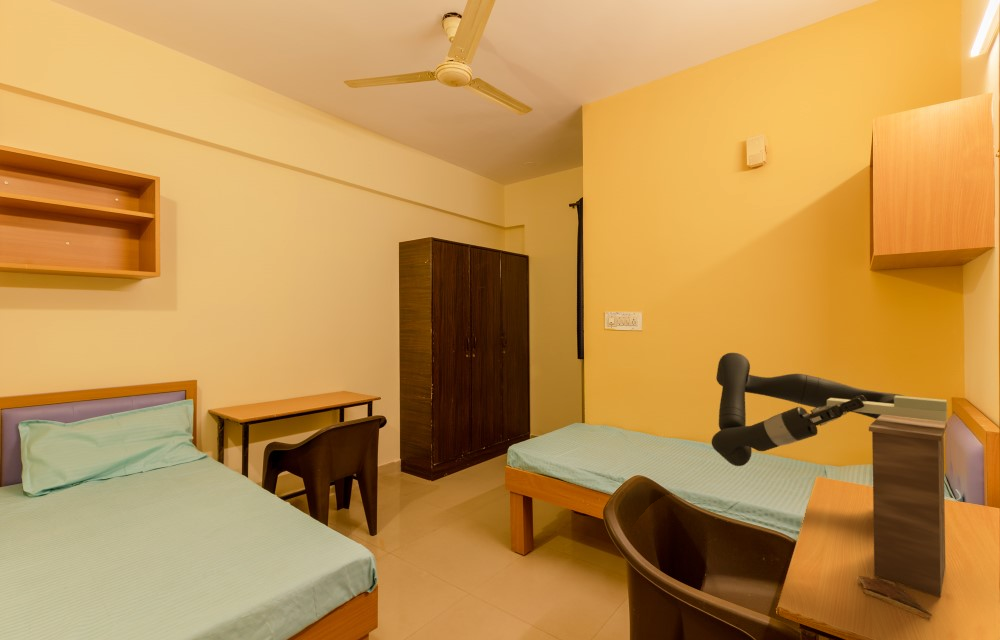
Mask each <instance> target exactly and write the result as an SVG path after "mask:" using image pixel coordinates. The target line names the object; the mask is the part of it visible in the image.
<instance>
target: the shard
mask: <svg viewBox="0 0 1000 640" xmlns="http://www.w3.org/2000/svg"><path fill="white" fill-rule="evenodd" d="M857 580H858V581H860V583H862V585H863V589H862V590H863V591H862V592H863V594H865V595H868V596H871V597H873V598H876V599H880V600H882V601H884V602H886V603H889V604H890V605H893V606H895V607H897V608H899V609H902V610H905V611H907V612H909V613H912V614H914V615H917V616H921V617H922V616H923V617H922V618H925V617H926V619H928V618H930V619H931V617H933V614H932V613H930V612H929V610H927V609H926V608H925V607H923V606H922V605H921V604H920V603H919V602H918V601H917V600H916V599H915V598H914V597H913V596H912V595H911V594H909V592H907V591H906V590H905V589H904V588H903V587H901V586H900V585H899V584H898V583H895V582H892V581H889V580H886V579H883V578H880V577H870V576H863V575H862V576H861V575H859V576H857Z"/></svg>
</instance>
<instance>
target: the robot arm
mask: <svg viewBox="0 0 1000 640" xmlns="http://www.w3.org/2000/svg"><path fill="white" fill-rule="evenodd" d="M750 369H751V363H750V360H748V358H747V357H746V356H745V355H743V354H741V353H738V352H727V353H725V354H723V355H722V356H721V357H720V359H719V361H718V364H717V369H716V370H717V372H716V377H715V378H716V379H715V380H716V381H717V383H718V385H719V386H721V387H722V388H721V389H722V391H721V394H720V395H721V396H720V402H719V410H718V411H719V412H718V427H719V430H718V431H717V432H716V433H715V434H714V435H713V436H712V439H711V446H712V448H713V449H714V450H715V452H717V454H719V455H720V456H721V457H722V458H724V460H726V461H727V462H728V463H730V465H732V466H735V467H742V466H745V465H746V464H747V463H748V462H749V461H750V459H751V457H752V451H753V450H752V449H754V450H755V451H758V452H766V451H769V450H772V449H775V448H778V447H783V446H786V445H790V444H794V443H797V442H800V441H803V440H805V439H810V438H811V437H814V436H817V435H818V427H817V426H825V425H827V424H828V423H829V422H833V421H836V420H838V419H839V418H841V417H843V416H846V414H847V413H854V414H858V415H862V416H866V417H869V418H873V419H875V420H876V419H877V418H878V417H879V416H880V415H881V414H873V413H864V412H855V411H854V410H856V409H859V408H862V407H864V403H863V402H862V401H869V402H879V403H889V404H894V397H895V396H904V395H903V394H899V393H892V392H891V393H890V392H882V391H876V390H870V389H869V390H868V389H864V388H863V389H861V388H857V387H853V386H850V385H847V384H844V383H841V382H837V381H833V380H831V379H825V378H821V377H818V376H814V375H813V376H812V375H809V374H805V373H804V374H803V373H790V374H782V375H777V376H772V377H769V376H768V377H765V376H758V375H753V374H750ZM746 393H748V394H755V395H760V396H765V397H771V398H774V399H780V400H783V401H784V400H785V401H788V402H792V403H795V404H799V405H803V406H807V407H809V408H810V407H811V408H813V409H811V410H810V412H811V413H809V412H808V411H807V410H806V409H805V408H803V407H802V406H796V407H793V408H791V409H789V410H785V411H783V412H780V413H777V414H775V415H773V416H770V417H769V418H768V419H765V420H763V421H759V422H757V423H754V424H753V425H747V424H746V422H747V421H746V418H747V417H746V415H747V413H746ZM829 398H838V399H848V400H850V401H847V402H844V403H842V405H841V404H836V405H835V406H832V407H831V406H827V400H828V399H829Z"/></svg>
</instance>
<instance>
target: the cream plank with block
mask: <svg viewBox="0 0 1000 640" xmlns="http://www.w3.org/2000/svg"><path fill="white" fill-rule="evenodd" d="M847 401H850V400H848V399H838V398H829V399H828V400H827V406H831V407H832V406H835V405H836V404H841V405H842V403H844V402H847ZM862 402H863V403H864V407H862V408H859V409H856V410H854V411H855V412H864V413H873V414H882V415H891V416H900V417H909V418H918V419H926V420H935V421H944V422H947V420H948V399H942V398H941V399H940V398H930V397H929V398H928V397H918V396H917V397H916V396H906V395H903V396H895V397H894V404H889V403H879V402H869V401H862Z"/></svg>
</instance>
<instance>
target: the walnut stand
mask: <svg viewBox="0 0 1000 640" xmlns="http://www.w3.org/2000/svg"><path fill="white" fill-rule="evenodd" d="M947 423H948V422H947V421H946V422H945V421H936V420H927V419H918V418H909V417H900V416H891V415H882V414H881V415H880V416H879V417H878V418H877V419H875V420H873V422H872V423H871V424H869V426H868V432H871V435H872V438H871V439H872V498H873V499H872V500H873V502H872V503H873V505H872V507H873V510H872V511H873V559H874V560H873V562H874V564H873V568H874V570H873V571H874V573H873V575H874V577H875V578H880V579H885V580H888V581H891V582H893V583H896V584H897V585H901V586H905V587H908V588H911V589H914V590H917V591H919V592H923V593H926V594H930V595H932V596H935V597H939V598H941V596H942V589H943V585H944V577H945V571H946V519H945V517H946V515H945V514H946V511H945V509H946V508H945V506H946V505H945V504H946V503H945V460H944V459H945V457H944V456H945V455H944V454H945V453H944V452H945V449H944V446H945V445H944V441H945V440H944V437H945V436H944V435H945V432H946V429H947V426H948V425H947Z"/></svg>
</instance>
